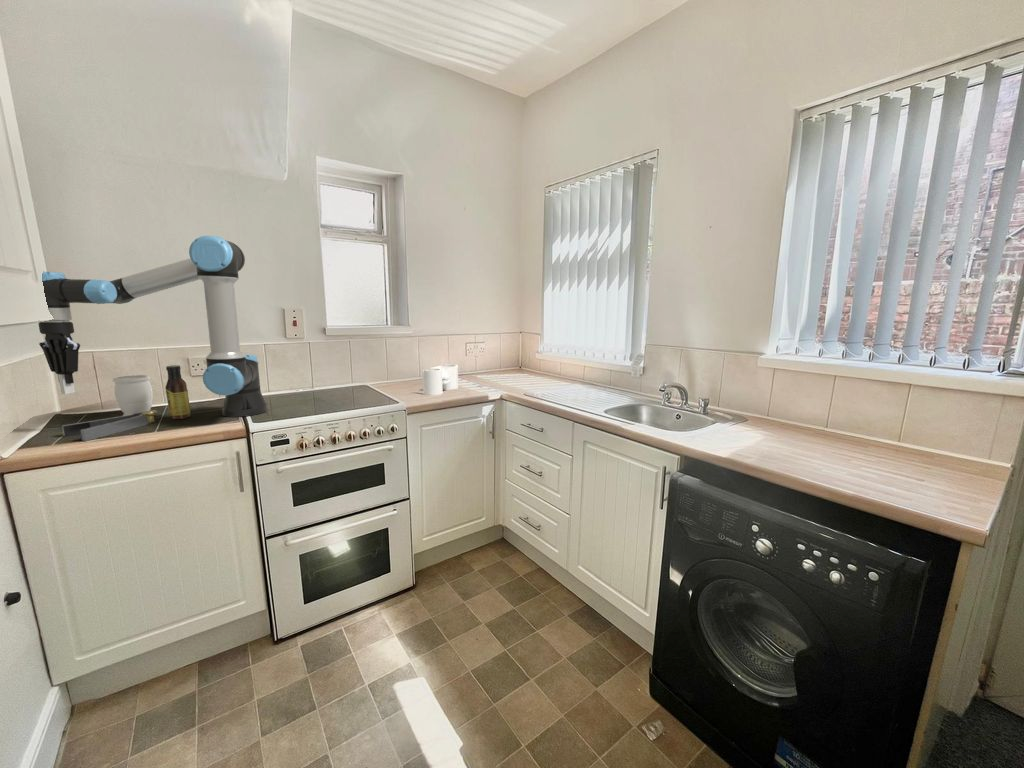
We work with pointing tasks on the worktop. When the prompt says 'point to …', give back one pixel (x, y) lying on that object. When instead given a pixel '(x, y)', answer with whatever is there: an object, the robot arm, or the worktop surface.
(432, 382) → the white paper rolls
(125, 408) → the jar
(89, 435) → the arm
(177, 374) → the sauce bottle
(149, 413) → the tongs moving arm
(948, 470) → the worktop surface
